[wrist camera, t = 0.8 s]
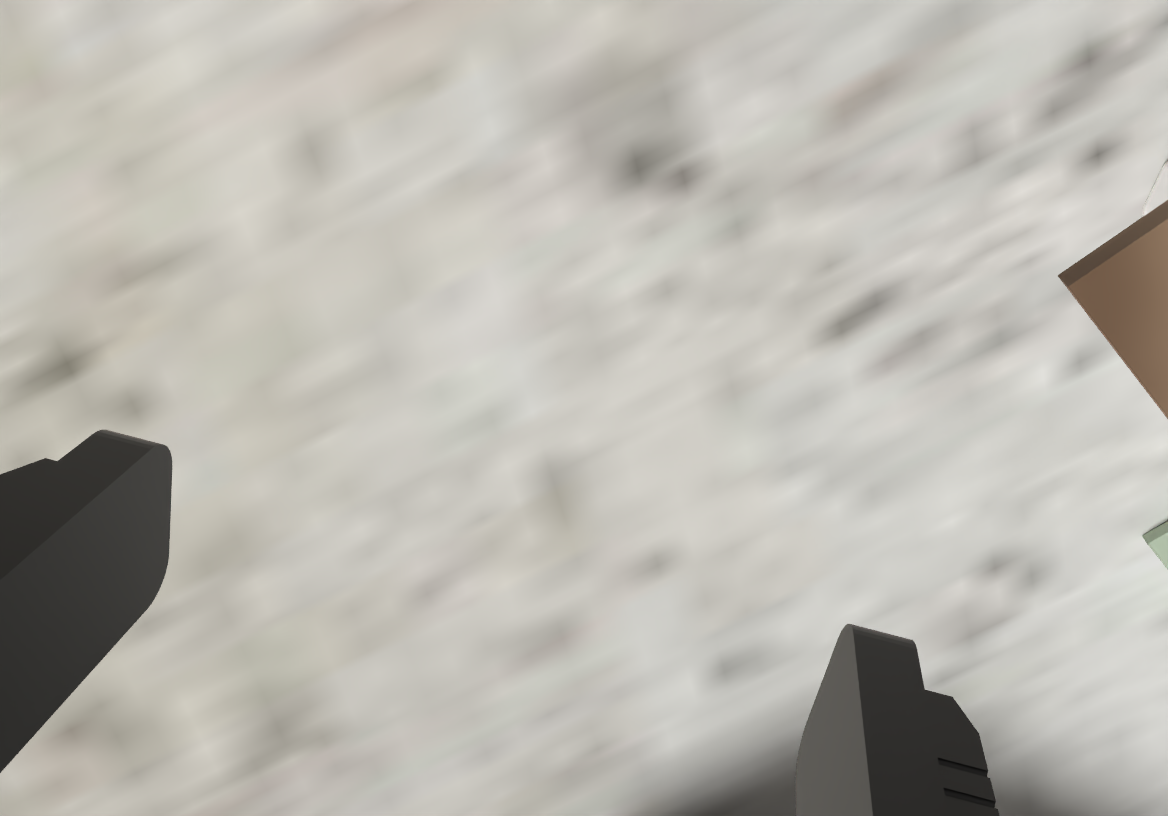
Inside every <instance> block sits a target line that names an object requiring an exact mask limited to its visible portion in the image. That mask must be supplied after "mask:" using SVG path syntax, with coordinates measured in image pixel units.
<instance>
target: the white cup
mask: <svg viewBox="0 0 1168 816" xmlns="http://www.w3.org/2000/svg"><path fill="white" fill-rule="evenodd" d="M1167 200H1168V161H1167V162H1166V163H1165V164H1164V165H1163V167H1162V169H1161V171H1160V173H1159V176H1158V178H1157V180H1156V182H1155V184H1154V186H1153V188H1152V190H1151V192H1150V194H1149V196H1148V198H1147V201H1146V203H1145V205H1144V207H1143V217H1144V216H1145V215H1146V214H1148V213H1149V212H1151V211H1152V210H1154V209H1155V208H1157V207H1158V206H1159V205H1161V204H1162V203H1164V202H1165V201H1167Z"/></svg>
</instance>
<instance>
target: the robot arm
mask: <svg viewBox="0 0 1168 816" xmlns="http://www.w3.org/2000/svg"><path fill="white" fill-rule="evenodd" d="M171 486H172V457H171V453H170V450H169V449H168V447H167V446H165V445H162V444H159V443H155V442H151V441H147V440H143V439H139V438H135V437H132V436H128V435H124V434H120V433H116V432H112V431H108V430H100V431H97V432H95V433H94V434H92V435H91V436H90V437H88V438H87V439H86V440H85V441H83V442H82V443H81V444H79V445H78V446H77V447H75V448H74V449H73V450H72V451H70V452H69V453H68V454H66V455H65V456H64V457H62V458H61V459H60V460H59V461H54V460H50V459H46V458H45V459H42V460H39V461H36V462H34V463H31V464H28V465H25V466H23V467H20V468H17V469H14V470H12V471H9V472H6V473H3V474H1V475H0V773H1V771H2V770H3V769H4V768H5V767H6V766H7V765H8V764H9V763H10V761H11V760H12V759H13V758H14V757H15V756H16V755H17V754H18V753H19V751H20V750H21V749H22V748H23V747H24V746H25V745H26V744H27V742H28V741H29V740H30V739H31V738H32V737H33V736H34V735H35V734H36V732H37V731H38V730H39V729H40V728H41V727H42V726H43V725H44V724H45V722H46V721H47V720H48V719H49V718H50V717H51V716H52V715H53V713H54V712H55V711H56V710H57V709H58V708H59V707H60V706H61V705H62V703H63V702H64V701H65V700H66V699H67V698H68V697H69V696H70V695H71V693H72V692H73V691H74V690H75V689H76V688H77V687H78V686H79V684H80V683H81V682H82V681H83V680H84V679H85V678H86V677H87V676H88V674H89V673H90V672H91V671H92V670H93V669H94V668H95V667H96V666H97V664H98V663H99V662H100V661H101V660H102V659H103V658H104V657H105V656H106V654H107V653H108V652H109V651H110V650H111V649H112V648H113V647H114V645H115V644H116V643H117V642H118V641H119V640H120V639H121V638H122V637H123V635H124V634H125V633H126V632H127V631H128V630H129V629H130V628H131V627H132V625H133V624H134V623H135V622H136V621H137V620H138V619H139V618H140V616H141V615H142V614H143V613H144V612H145V611H146V610H147V609H148V607H149V606H150V605H151V603H152V602H153V600H154V599H155V597H156V595H157V593H158V591H159V589H160V587H161V584H162V582H163V579H164V576H165V573H166V569H167V565H168V558H169V539H170V512H171ZM987 772H988V768H987V764H986V760H985V756H984V752H983V748H982V744H981V740H980V736H979V733H978V732H977V730H976V729H975V728H974V726H973V725H972V723H971V722H970V721H969V719H968V718H967V717H966V715H965V714H964V712H963V711H962V710H961V708H960V707H959V705H958V704H957V703H956V701H955V700H954V699H953V697H951V696H947V695H943V694H939V693H936V692H932V691H928V690H925V689H924V684H923V679H922V674H921V668H920V663H919V658H918V653H917V648H916V645H915V643H914V641H913V640H910V639H906V638H902V637H898V636H894V635H890V634H887V633H883V632H879V631H875V630H871V629H867V628H863V627H859V626H856V625H852V624H847V625H846V626H845V627H844V628H843V630H842V631H841V633H840V636H839V638H838V640H837V643H836V646H835V648H834V651H833V654H832V656H831V659H830V662H829V664H828V667H827V670H826V672H825V675H824V678H823V680H822V683H821V686H820V688H819V691H818V694H817V696H816V699H815V702H814V705H813V707H812V710H811V713H810V715H809V718H808V721H807V723H806V726H805V729H804V733H803V736H802V740H801V744H800V749H799V754H798V759H797V766H796V778H795V793H796V816H999V813H998V809H995V808H994V806H995V802H996V801H995V797H994V793H993V789H992V785H991V781H990V778H988V777H987Z"/></svg>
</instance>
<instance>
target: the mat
mask: <svg viewBox="0 0 1168 816" xmlns="http://www.w3.org/2000/svg"><path fill="white" fill-rule="evenodd" d="M1143 538H1144V539H1145V541H1146V543H1147V544H1148V545H1149V547H1150V548H1151V549H1152V550H1153V552H1154V553H1155V554H1156V555H1157V557H1158V558H1159V559H1160V560H1161V561H1162V563H1163V564H1164V565H1165V566H1166V568H1167V569H1168V521H1167V522H1165V523H1164V524H1162V525H1160V526H1158V527H1157V528H1155V529H1153V530H1151V531H1150V532H1148V533H1146V534H1145V535H1143Z"/></svg>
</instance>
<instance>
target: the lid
mask: <svg viewBox="0 0 1168 816" xmlns="http://www.w3.org/2000/svg"><path fill="white" fill-rule="evenodd" d="M1058 277H1059V278H1060V279H1061V281H1062V282H1063V283H1064V284H1065V286H1066V287H1067V288H1068V290H1069V291H1070V292H1071V294H1072V295H1073V296H1074V297H1075V299H1076V300H1077V301H1078V303H1079V304H1080V305H1081V307H1082V308H1083V309H1084V310H1085V312H1086V313H1087V314H1088V316H1089V317H1090V318H1091V320H1092V321H1093V322H1094V324H1095V325H1096V326H1097V327H1098V329H1099V330H1100V331H1101V333H1102V334H1103V335H1104V337H1105V338H1106V339H1107V340H1108V342H1109V343H1110V344H1111V346H1112V347H1113V348H1114V350H1115V351H1116V352H1117V353H1118V355H1119V356H1120V357H1121V359H1122V360H1123V361H1124V363H1125V364H1126V365H1127V367H1128V368H1129V369H1130V370H1131V372H1132V373H1133V374H1134V376H1135V377H1136V378H1137V380H1138V381H1139V382H1140V383H1141V385H1142V386H1143V387H1144V389H1145V390H1146V391H1147V393H1148V394H1149V395H1150V396H1151V398H1152V399H1153V400H1154V402H1155V403H1156V404H1157V406H1158V407H1159V408H1160V410H1161V411H1162V412H1163V413H1164V415H1165V416H1166V417H1167V419H1168V200H1167V201H1165V202H1164V203H1162V204H1161V205H1159V206H1158V207H1157V208H1155V209H1154V210H1152V211H1151V212H1149V213H1148V214H1146V215H1145V216H1144V217H1142V218H1141V219H1139V220H1138V221H1136V222H1135V223H1133V224H1132V225H1130V226H1129V227H1128V228H1126V229H1125V230H1123V231H1122V232H1120V233H1119V234H1117V235H1116V236H1114V237H1113V238H1112V239H1110V240H1109V241H1107V242H1106V243H1104V244H1103V245H1101V246H1100V247H1098V248H1097V249H1096V250H1094V251H1093V252H1091V253H1090V254H1088V255H1087V256H1085V257H1084V258H1082V259H1081V260H1080V261H1078V262H1077V263H1075V264H1074V265H1072V266H1071V267H1069V268H1068V269H1066V270H1065V271H1064V272H1062V273H1061V274H1059V275H1058Z"/></svg>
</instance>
